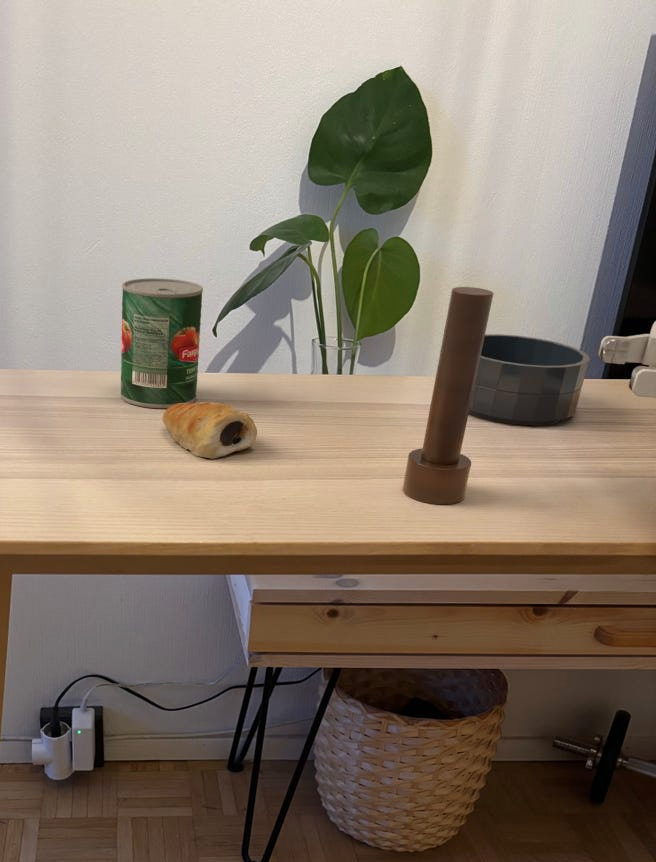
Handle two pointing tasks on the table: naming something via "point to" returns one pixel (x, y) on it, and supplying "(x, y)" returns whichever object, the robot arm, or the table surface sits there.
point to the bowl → (527, 380)
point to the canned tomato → (160, 341)
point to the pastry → (209, 428)
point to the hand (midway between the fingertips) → (616, 363)
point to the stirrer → (450, 403)
